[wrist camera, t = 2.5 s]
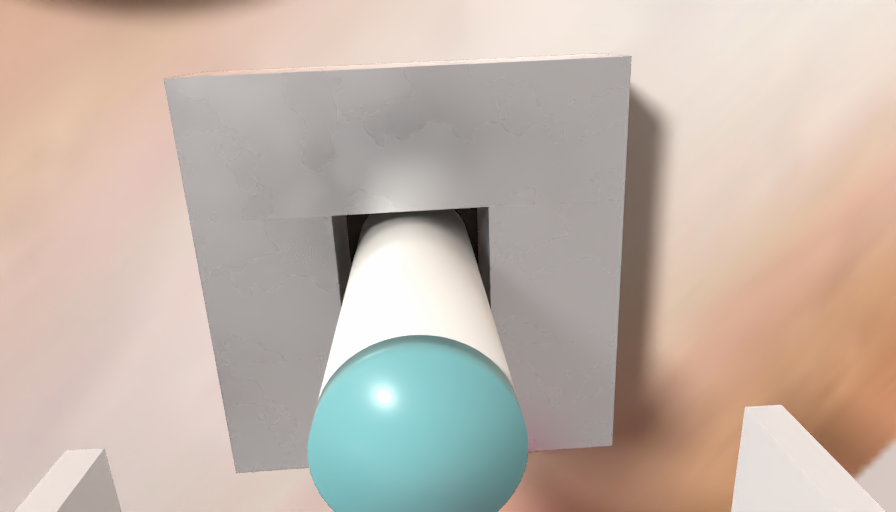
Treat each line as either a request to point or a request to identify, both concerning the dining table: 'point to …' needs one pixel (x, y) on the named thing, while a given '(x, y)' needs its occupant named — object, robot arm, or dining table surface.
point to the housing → (399, 190)
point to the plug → (416, 379)
